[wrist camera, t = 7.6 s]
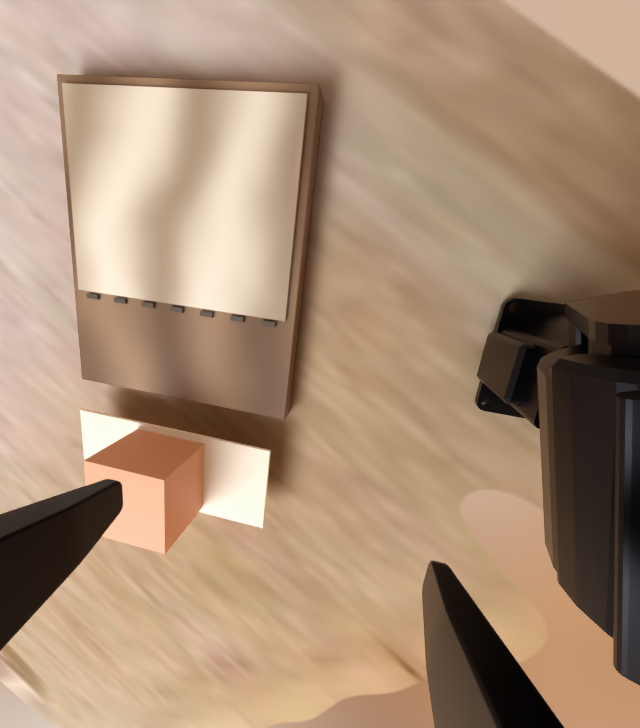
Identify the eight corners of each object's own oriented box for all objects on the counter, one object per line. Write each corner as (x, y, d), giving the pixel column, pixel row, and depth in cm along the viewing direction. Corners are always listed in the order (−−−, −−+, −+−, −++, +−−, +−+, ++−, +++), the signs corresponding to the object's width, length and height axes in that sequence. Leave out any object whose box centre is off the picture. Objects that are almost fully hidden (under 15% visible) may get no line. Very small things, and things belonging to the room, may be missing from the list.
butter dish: (270, 449, 20) (243, 491, 16) (263, 526, 21) (237, 581, 17) (82, 408, 22) (15, 436, 18) (88, 481, 23) (28, 521, 19)
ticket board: (323, 100, 16) (318, 81, 15) (289, 411, 21) (282, 421, 19) (78, 88, 18) (53, 71, 17) (98, 373, 23) (79, 379, 21)
